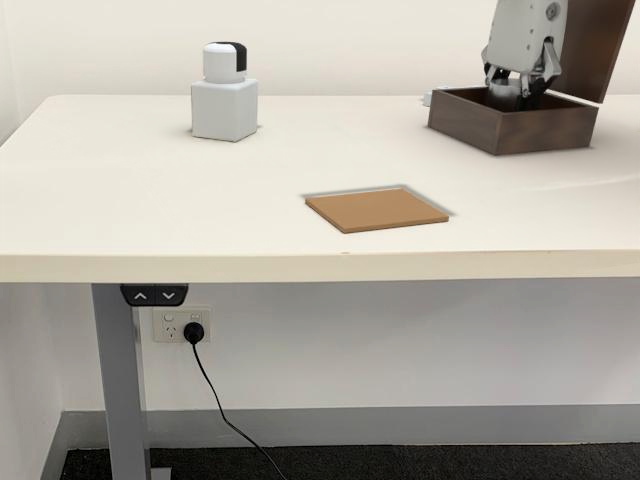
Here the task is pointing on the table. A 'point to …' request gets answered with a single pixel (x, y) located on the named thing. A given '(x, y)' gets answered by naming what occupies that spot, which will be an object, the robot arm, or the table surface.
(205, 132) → the white block with cylinder
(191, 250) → the table surface
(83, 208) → the table surface
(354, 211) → the mat
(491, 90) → the silver metal canister
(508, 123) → the box
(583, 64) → the lid
